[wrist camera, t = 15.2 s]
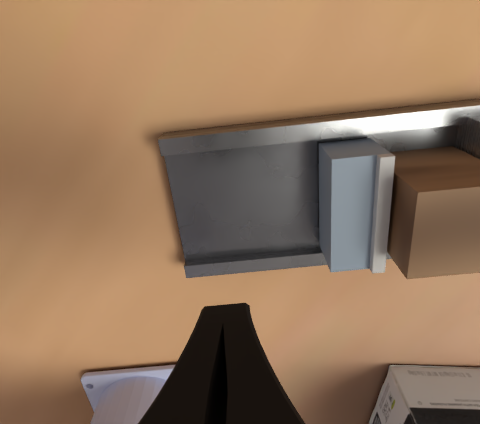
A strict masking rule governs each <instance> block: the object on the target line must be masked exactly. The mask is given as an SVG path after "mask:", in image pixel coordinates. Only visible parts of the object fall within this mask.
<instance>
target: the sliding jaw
mask: <svg viewBox="0 0 480 424" xmlns="http://www.w3.org/2000/svg"><path fill="white" fill-rule="evenodd" d="M394 165H395V156H394V155H393V154H392V153H390V152H389V151H387V150H386V149H385V148H383V147H382V146H381V145H379V144H378V143H376V142H375V141H374V140H372V139H371V138H365V139H355V140H346V141H336V142H327V143H319V245H320V248H321V250H322V252H323V255H324V257H325V260H326V262H327V264H328V267H329V269H330V272H338V271H349V270H359V269H370V270H371V272H372V273H381V272H385V265H386V254H387V243H388V232H389V221H390V209H391V198H392V187H393V176H394Z"/></svg>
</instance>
